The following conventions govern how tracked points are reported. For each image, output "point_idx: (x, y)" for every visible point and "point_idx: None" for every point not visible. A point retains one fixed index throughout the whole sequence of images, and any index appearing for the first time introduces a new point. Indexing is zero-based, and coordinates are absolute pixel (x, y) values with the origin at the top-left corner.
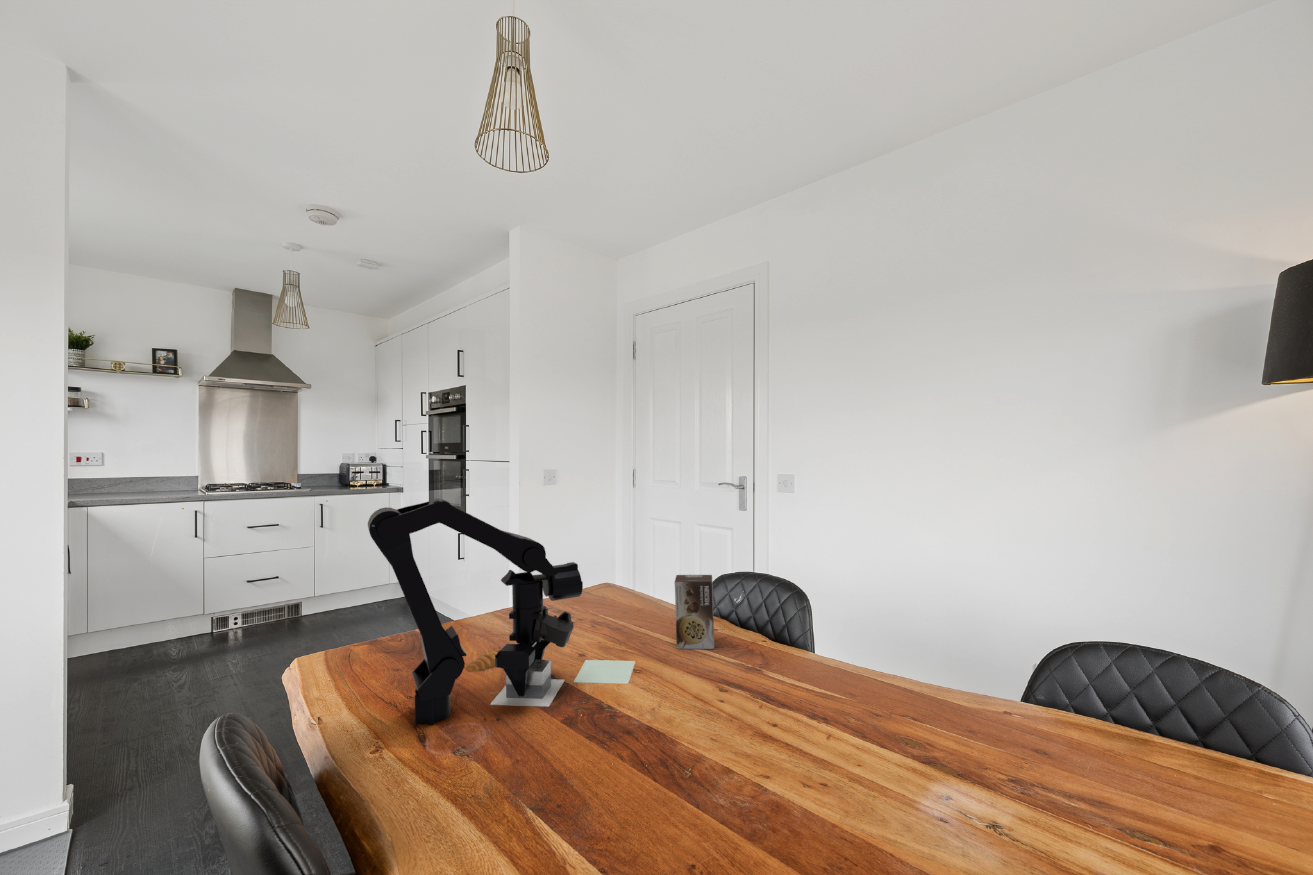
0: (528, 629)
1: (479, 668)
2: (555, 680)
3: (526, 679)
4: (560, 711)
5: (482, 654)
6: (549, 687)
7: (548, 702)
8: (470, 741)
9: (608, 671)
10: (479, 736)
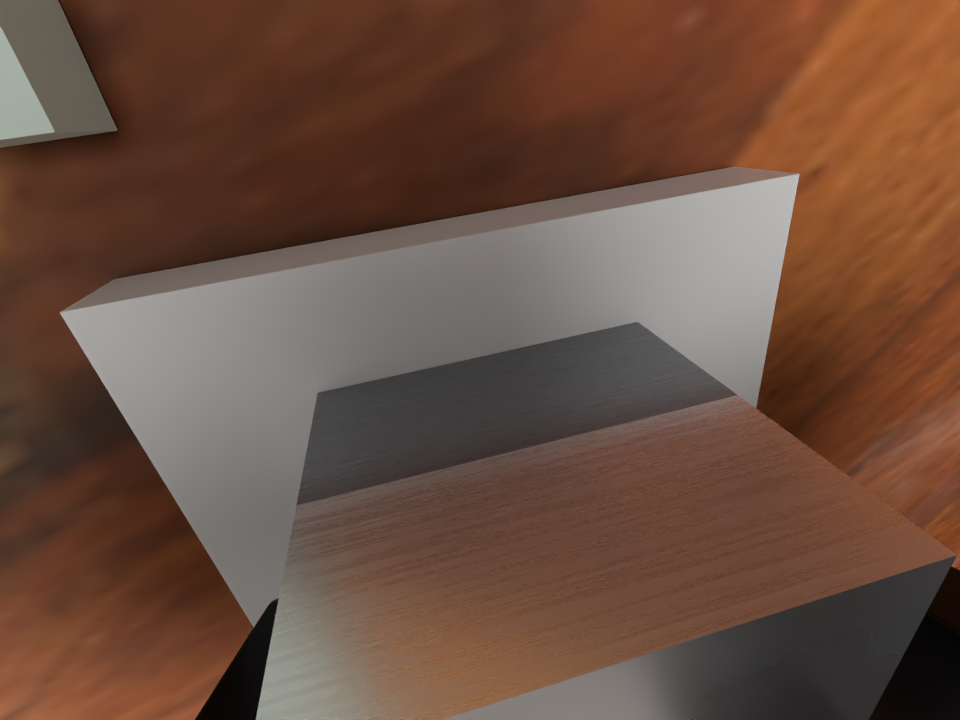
0: None
1: None
2: (162, 413)
3: (955, 599)
4: (674, 66)
5: None
6: (386, 380)
7: (712, 220)
8: (954, 463)
9: None
10: (921, 455)
